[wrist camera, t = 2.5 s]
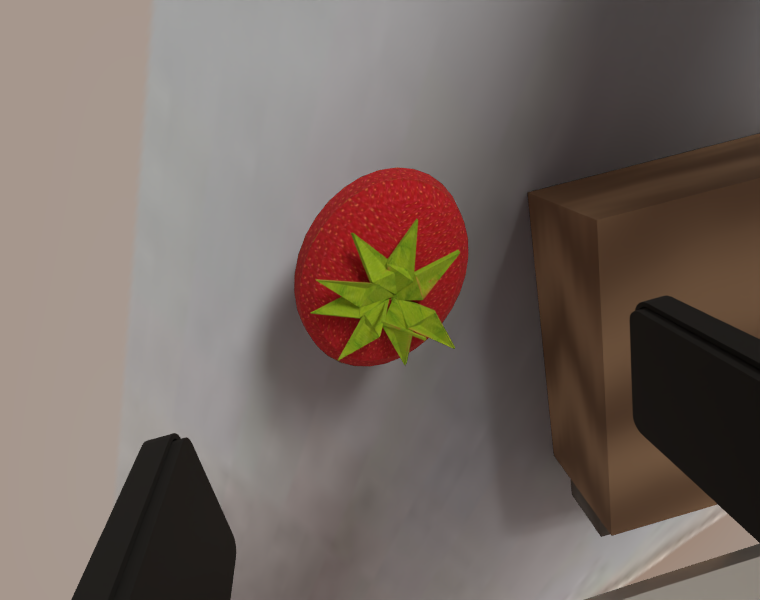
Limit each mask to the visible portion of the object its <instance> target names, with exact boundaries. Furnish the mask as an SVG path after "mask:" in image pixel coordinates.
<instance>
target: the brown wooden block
mask: <svg viewBox="0 0 760 600" xmlns="http://www.w3.org/2000/svg"><path fill="white" fill-rule="evenodd" d="M528 203H529V213H530V222H531V232H532V242H533V252H534V262H535V272H536V282H537V292H538V302H539V312H540V322H541V332H542V342H543V352H544V362H545V372H546V382H547V392H548V402H549V412H550V422H551V431H552V441H553V451H554V456H555V458H556V459H557V460H558V462H559V463H560V465H561V466H562V467H563V469H564V470H565V472H566V473H567V474H568V476H569V477H570V478H571V489H572V495H573V497H574V498H575V500H576V501H577V503H578V504H579V505H580V507H581V508H582V510H583V511H584V513H585V514H586V516H587V517H588V518H589V520H590V521H591V523H592V524H593V526H594V527H595V529H596V530H597V531H598V533H599V534H600V536H601V537H602V536H606V535H609V534H611V536H612V535H616V534H619V533H622V532H626V531H629V530H632V529H636V528H639V527H643V526H646V525H649V524H653V523H656V522H660V521H663V520H666V519H670V518H673V517H676V516H680V515H683V514H687V513H690V512H693V511H697V510H700V509H703V508H707V507H710V506H714V505H717V503H716V502H715V501H714V500H713V499H711V498H710V497H709V496H708V495H707V494H706V493H705V492H704V491H703V490H702V489H701V488H700V487H698V486H697V485H696V484H695V483H694V482H693V481H692V480H691V479H690V478H689V477H688V476H686V475H685V474H684V473H683V472H682V471H681V470H680V469H679V468H678V467H677V466H676V465H674V464H673V463H672V462H671V461H670V460H669V459H668V458H667V457H666V456H665V455H664V454H663V453H661V452H660V451H659V450H658V449H657V448H656V447H655V446H654V445H653V444H652V443H651V442H649V441H648V440H647V439H646V438H645V437H644V436H643V435H642V434H641V433H640V432H639V431H638V429H637V427H636V425H635V423H634V420H633V410H632V380H631V350H630V315H631V313H632V312H633V311H635V308H636V306H637V304H639V303H640V302H643V301H647V300H650V299H654V298H658V297H661V296H666V295H668V296H671V297H673V298H675V299H677V300H679V301H682V302H684V303H686V304H688V305H690V306H692V307H694V308H696V309H698V310H700V311H702V312H704V313H706V314H708V315H711V316H713V317H715V318H717V319H719V320H721V321H723V322H725V323H727V324H729V325H731V326H733V327H735V328H738V329H740V330H742V331H744V332H746V333H748V334H750V335H752V336H754V337H756V338H758V339H760V133H759V134H755V135H752V136H748V137H744V138H740V139H736V140H732V141H728V142H724V143H720V144H716V145H712V146H708V147H704V148H700V149H697V150H693V151H689V152H685V153H681V154H677V155H673V156H669V157H665V158H661V159H657V160H653V161H649V162H645V163H641V164H638V165H634V166H630V167H626V168H622V169H618V170H614V171H610V172H606V173H602V174H598V175H594V176H590V177H586V178H583V179H579V180H575V181H571V182H567V183H563V184H559V185H555V186H551V187H547V188H543V189H539V190H535V191H531V192H528Z"/></svg>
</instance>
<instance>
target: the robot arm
mask: <svg viewBox="0 0 760 600" xmlns="http://www.w3.org/2000/svg"><path fill="white" fill-rule="evenodd" d="M630 350H631V380H632V410H633V420H634V423H635V425H636V427H637V429H638V431H639V432H640V433H641V434H642V435H643V436H644V437H645V438H646V439H647V440H648V441H649V442H651V443H652V444H653V445H654V446H655V447H656V448H657V449H658V450H659V451H660V452H661V453H663V454H664V455H665V456H666V457H667V458H668V459H669V460H670V461H671V462H672V463H673V464H674V465H676V466H677V467H678V468H679V469H680V470H681V471H682V472H683V473H684V474H685V475H686V476H688V477H689V478H690V479H691V480H692V481H693V482H694V483H695V484H696V485H697V486H698V487H700V488H701V489H702V490H703V491H704V492H705V493H706V494H707V495H708V496H709V497H710V498H711V499H713V500H714V501H715V502H716V503H717V504H718V505H719V506H720V507H721V508H722V509H723V510H725V511H726V512H727V513H728V514H729V515H730V516H731V517H732V518H733V519H734V520H735V521H737V522H738V523H739V524H740V525H741V526H742V527H743V528H744V529H745V530H746V531H747V532H748V533H750V534H751V535H752V536H753V537H754V538H755V539H756V540H757V541H758V542H759V543H760V339H758V338H756V337H754V336H752V335H750V334H748V333H746V332H744V331H742V330H740V329H738V328H735V327H733V326H731V325H729V324H727V323H725V322H723V321H721V320H719V319H717V318H715V317H713V316H711V315H708V314H706V313H704V312H702V311H700V310H698V309H696V308H694V307H692V306H690V305H688V304H686V303H684V302H682V301H679V300H677V299H675V298H673V297H671V296H668V295H666V296H661V297H658V298H654V299H650V300H647V301H643V302H640V303H639V304H637V306H636V308H635V311H633V312H632V313H631V315H630ZM235 560H236V544H235V540H234V536H233V534H232V531H231V529H230V527H229V525H228V523H227V520H226V518H225V516H224V514H223V511H222V509H221V507H220V505H219V502H218V500H217V498H216V496H215V494H214V491H213V489H212V487H211V485H210V482H209V480H208V478H207V476H206V473H205V471H204V469H203V467H202V465H201V462H200V460H199V458H198V456H197V453H196V451H195V449H194V447H193V444H192V443H191V441H190V439H189V438H182V439H181V438H180V437H179V436H178V435H177V434H175V433H173V434H169V435H166V436H162V437H159V438H155V439H152V440H148V441H146V442H144V443H143V445H142V447H141V449H140V451H139V453H138V456H137V458H136V460H135V462H134V464H133V467H132V469H131V471H130V473H129V475H128V477H127V480H126V482H125V484H124V486H123V488H122V491H121V493H120V495H119V497H118V499H117V502H116V504H115V506H114V508H113V510H112V512H111V515H110V517H109V519H108V521H107V524H106V526H105V528H104V530H103V532H102V534H101V536H100V538H99V541H98V543H97V545H96V547H95V549H94V552H93V554H92V556H91V558H90V560H89V562H88V565H87V567H86V569H85V571H84V573H83V576H82V578H81V580H80V582H79V584H78V586H77V589H76V591H75V593H74V595H73V597H72V600H230V598H231V591H232V583H233V575H234V568H235ZM585 600H760V544H757V545H754V546H751V547H748V548H745V549H741V550H738V551H735V552H732V553H729V554H726V555H723V556H720V557H717V558H713V559H710V560H707V561H704V562H700V563H697V564H694V565H691V566H688V567H685V568H681V569H678V570H675V571H672V572H669V573H666V574H663V575H659V576H656V577H653V578H650V579H647V580H644V581H641V582H638V583H634V584H631V585H628V586H625V587H622V588H619V589H616V590H613V591H609V592H606V593H603V594H600V595H597V596H594V597H591V598H588V599H585Z"/></svg>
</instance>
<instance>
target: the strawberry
mask: <svg viewBox="0 0 760 600" xmlns="http://www.w3.org/2000/svg"><path fill="white" fill-rule="evenodd" d="M467 262H468V237H467V233H466V228H465V224H464V221H463V218H462V216H461V213H460V211H459V209H458V207H457V205H456V203H455V201H454V198H453V196H452V195H451V194H450V193H449V192H448V190H447V189H446V188H445V187H444V185H443V184H442V183H440V182H439V181H437V180H436V179H435V178H433V177H432V176H430V175H429V174H426V173H423V172H420V171H418V170H415V169H407V168H390V169H384V170H378V171H376V172H373V173H370V174H368V175H365V176H362V177H360V178H359V179H357V180H355V181H354V182H352V183H351V184H349V185H347V186H346V187H344V188H343V189H342V190H341V191H340V192H339V193H337V194H336V195H335V196H334V197H333V198H332V199H331V200H330V201H329V202H328V203H327V204H326V205H325V207H324V208H323V209H322V210H321V212H320V213H319V214H318V215H317V217H316V218H315V220H314V222H313V223H312V225H311V227H310V229H309V230H308V232H307V234H306V236H305V238H304V241H303V244H302V246H301V249H300V252H299V254H298V259H297V264H296V270H295V283H294V293H295V299H296V305H297V310H298V313H299V315H300V318H301V320H302V323H303V325H304V327H305V329H306V330H307V332H308V334H309V335H310V337H311V338H312V339H313V341H314V342H315V344H316V345H317V346H318V347H319V348H320V349H321V350H322V351H323V352H324V353H325V354H327V355H328V356H329V357H331V358H333V359H335V360H337V361H339V362H341V363H345V364H349V365H353V366H374V365H380V364H385V363H388V362H390V361H393V360H396V359H398V358H401V360H402V362H403V363H404V365H406V363H407V359H408V354H409V352H411V351H413V350H414V349H416V348H417V347H418V346H420V345H421V344H422V343H423V342H424V341H426V340H427V339H428V338H431V339H433V340H435V341H438V342H440V343H442V344H444V345H447V346H449V347H451V348H453V349H455V346H454V344H453V343H452V341H451V339H450V337H449V335H448V333H447V332H446V330H445V328H444V326H443V324H442V323H443V321H444V320H445V318H446V317H447V315H448V314H449V312H450V311H451V309H452V308H453V306H454V303H455V301H456V299H457V297H458V295H459V293H460V291H461V288H462V284H463V281H464V278H465V275H466V269H467Z"/></svg>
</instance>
